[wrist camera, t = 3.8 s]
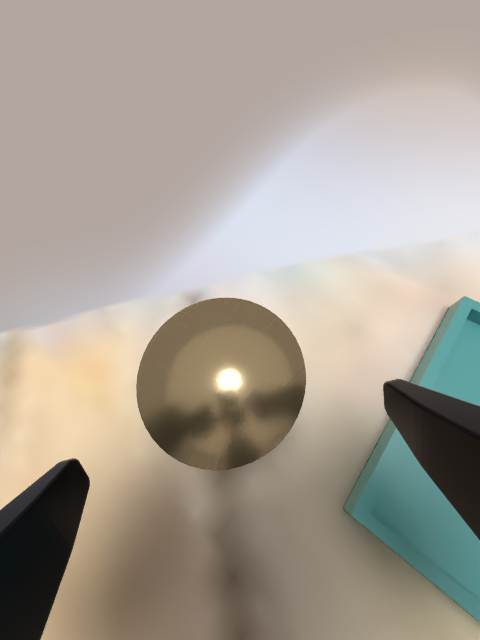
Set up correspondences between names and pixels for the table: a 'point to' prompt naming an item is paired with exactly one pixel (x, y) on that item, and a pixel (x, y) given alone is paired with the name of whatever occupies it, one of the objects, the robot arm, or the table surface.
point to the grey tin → (221, 383)
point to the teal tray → (414, 483)
